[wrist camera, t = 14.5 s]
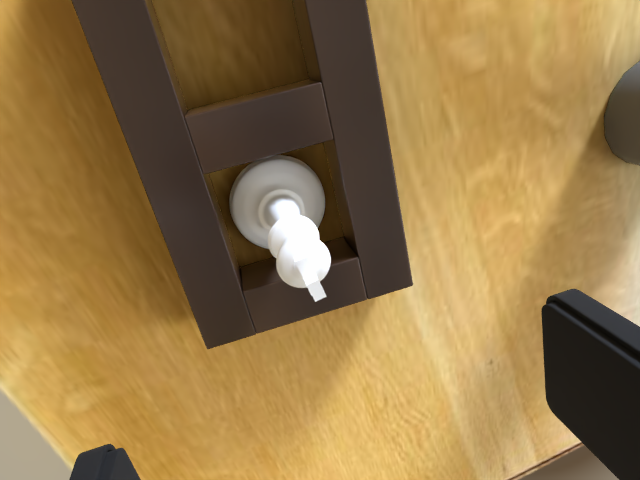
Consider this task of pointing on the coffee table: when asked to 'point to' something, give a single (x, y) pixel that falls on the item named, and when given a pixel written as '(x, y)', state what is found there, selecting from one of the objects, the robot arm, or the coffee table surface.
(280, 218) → the chess piece
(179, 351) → the coffee table surface
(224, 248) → the socket block
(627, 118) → the candle holder
